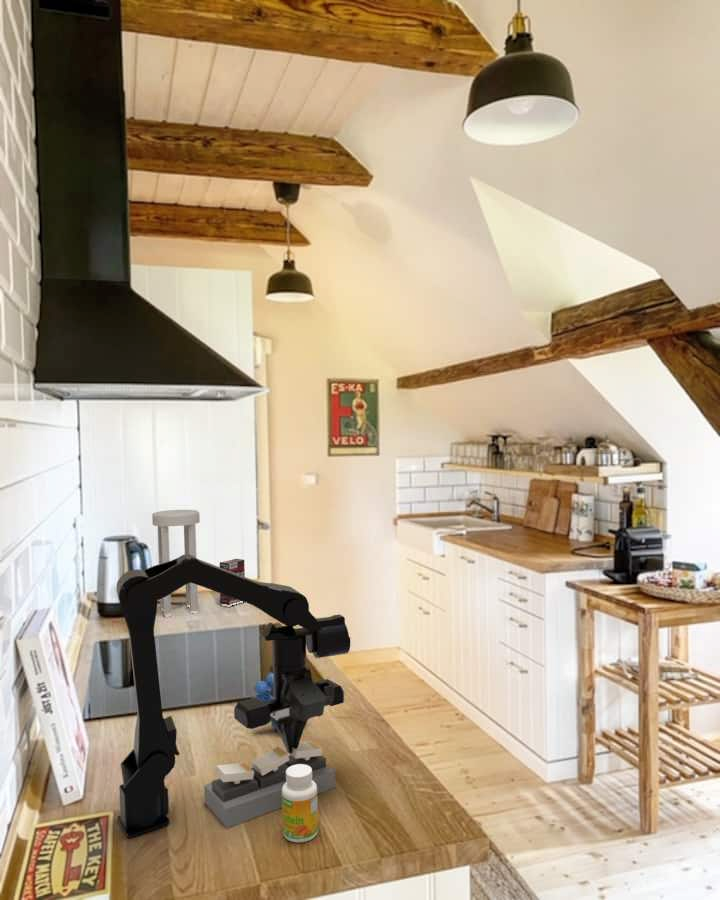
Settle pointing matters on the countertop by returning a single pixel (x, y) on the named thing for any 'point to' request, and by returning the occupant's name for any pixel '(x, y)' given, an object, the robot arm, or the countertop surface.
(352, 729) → the countertop surface
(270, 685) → the grapes
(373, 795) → the countertop surface
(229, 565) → the supplement box
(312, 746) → the far rocker
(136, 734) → the robot arm
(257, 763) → the middle rocker
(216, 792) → the rocker switch strip
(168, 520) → the stool
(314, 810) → the supplement bottle
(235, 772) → the block
